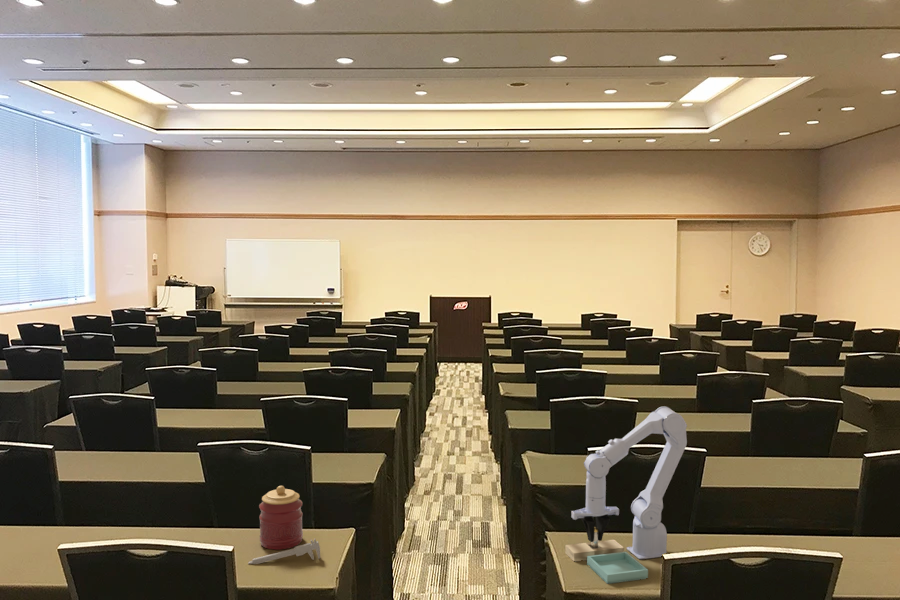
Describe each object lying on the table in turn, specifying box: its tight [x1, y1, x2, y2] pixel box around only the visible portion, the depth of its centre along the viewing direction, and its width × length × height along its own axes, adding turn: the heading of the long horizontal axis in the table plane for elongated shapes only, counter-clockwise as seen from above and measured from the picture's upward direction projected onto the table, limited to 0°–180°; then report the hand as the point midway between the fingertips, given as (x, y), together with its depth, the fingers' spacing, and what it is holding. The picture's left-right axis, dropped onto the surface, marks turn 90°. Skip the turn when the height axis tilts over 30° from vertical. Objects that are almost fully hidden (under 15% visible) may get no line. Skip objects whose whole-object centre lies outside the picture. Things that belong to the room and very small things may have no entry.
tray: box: [586, 551, 649, 585], centre depth 211 cm, size 12×12×2 cm
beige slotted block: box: [564, 539, 625, 562], centre depth 222 cm, size 16×6×2 cm, turn 106°
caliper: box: [247, 538, 321, 565], centre depth 217 cm, size 21×1×6 cm, turn 101°
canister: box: [258, 485, 304, 550], centre depth 230 cm, size 13×13×18 cm
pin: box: [591, 526, 599, 549], centre depth 222 cm, size 2×2×8 cm
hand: (594, 540), depth 222 cm, fingers closed on pin, 2 cm apart
